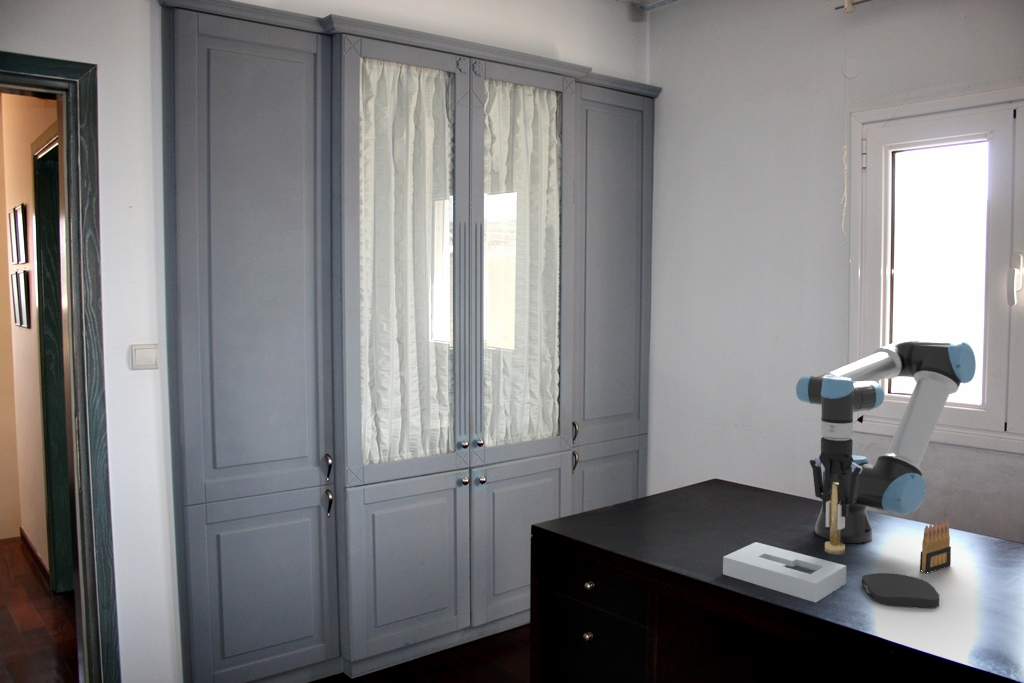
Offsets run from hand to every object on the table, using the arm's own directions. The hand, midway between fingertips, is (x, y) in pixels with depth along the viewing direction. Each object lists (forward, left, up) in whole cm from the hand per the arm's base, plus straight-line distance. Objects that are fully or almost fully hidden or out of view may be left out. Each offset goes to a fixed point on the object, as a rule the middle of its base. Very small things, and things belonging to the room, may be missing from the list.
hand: (835, 526), depth 198 cm
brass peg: (0, 0, -7) cm, 7 cm away
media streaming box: (-8, +19, -11) cm, 23 cm away
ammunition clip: (-25, +2, -10) cm, 27 cm away
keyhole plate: (+16, +10, -10) cm, 22 cm away
